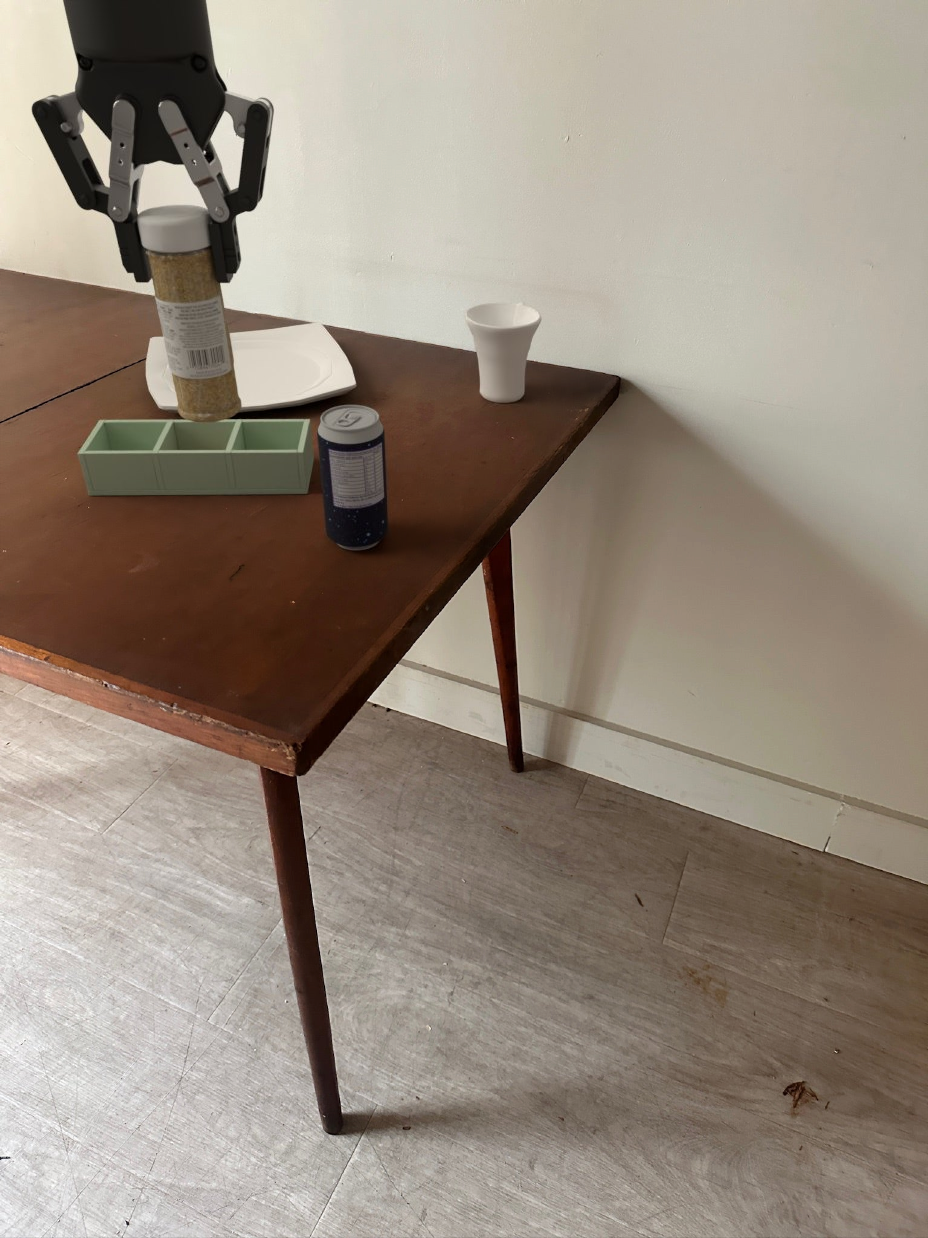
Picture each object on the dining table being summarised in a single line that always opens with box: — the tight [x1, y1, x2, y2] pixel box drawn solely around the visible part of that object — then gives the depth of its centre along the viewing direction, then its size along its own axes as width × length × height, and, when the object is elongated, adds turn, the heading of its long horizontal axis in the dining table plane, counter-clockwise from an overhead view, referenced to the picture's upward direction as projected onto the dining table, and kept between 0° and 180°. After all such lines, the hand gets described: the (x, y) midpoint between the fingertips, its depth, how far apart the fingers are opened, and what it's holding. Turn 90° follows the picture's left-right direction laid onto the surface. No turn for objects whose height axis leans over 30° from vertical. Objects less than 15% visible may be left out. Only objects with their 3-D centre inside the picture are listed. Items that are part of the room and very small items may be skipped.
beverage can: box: [316, 404, 389, 551], centre depth 76 cm, size 6×6×12 cm
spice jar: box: [137, 204, 242, 423], centre depth 58 cm, size 5×5×13 cm
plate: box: [145, 322, 357, 414], centre depth 107 cm, size 24×24×3 cm
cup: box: [464, 301, 542, 404], centre depth 104 cm, size 9×9×10 cm
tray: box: [77, 418, 315, 497], centre depth 87 cm, size 21×8×5 cm, turn 93°
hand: (186, 278), depth 57 cm, fingers closed on spice jar, 4 cm apart
